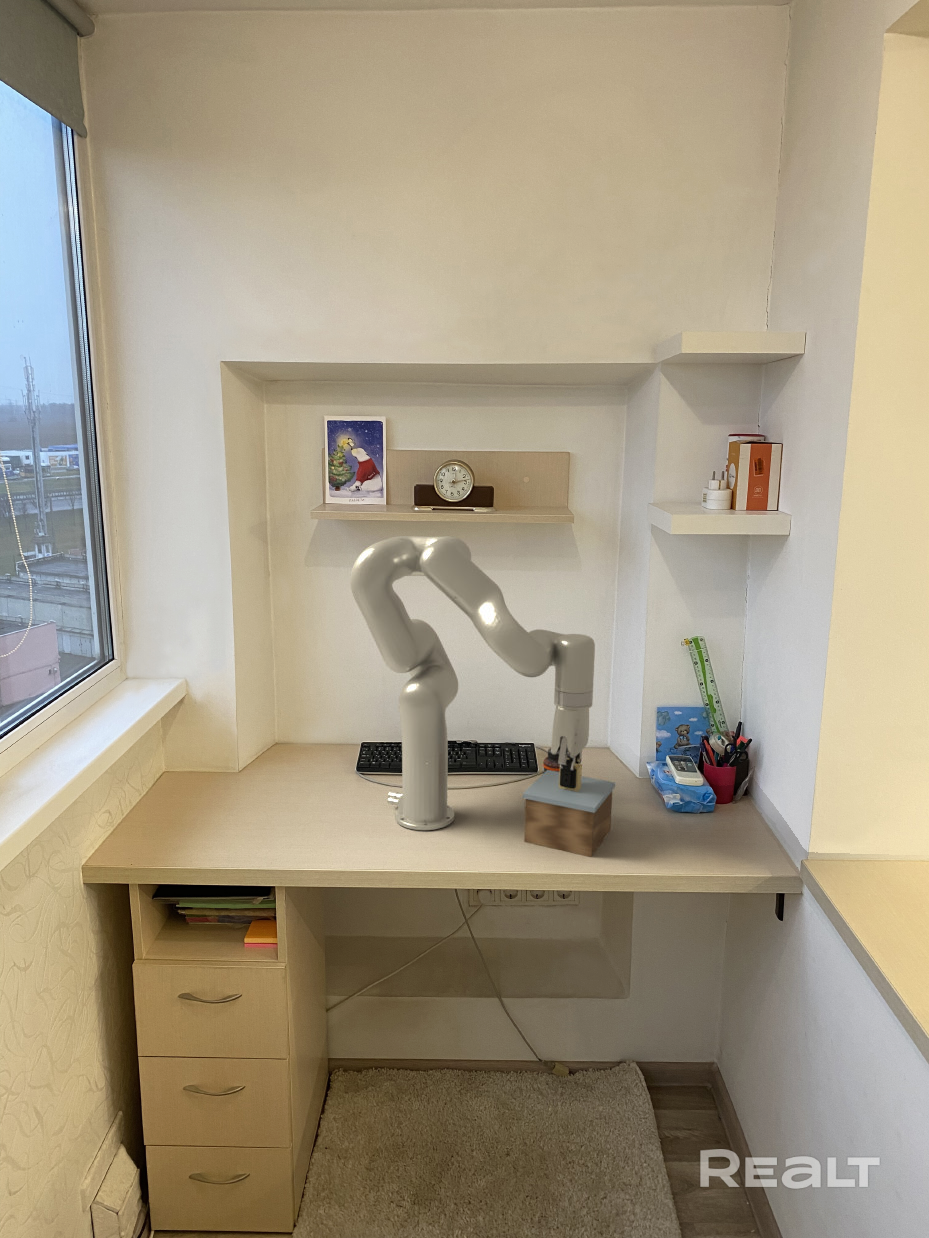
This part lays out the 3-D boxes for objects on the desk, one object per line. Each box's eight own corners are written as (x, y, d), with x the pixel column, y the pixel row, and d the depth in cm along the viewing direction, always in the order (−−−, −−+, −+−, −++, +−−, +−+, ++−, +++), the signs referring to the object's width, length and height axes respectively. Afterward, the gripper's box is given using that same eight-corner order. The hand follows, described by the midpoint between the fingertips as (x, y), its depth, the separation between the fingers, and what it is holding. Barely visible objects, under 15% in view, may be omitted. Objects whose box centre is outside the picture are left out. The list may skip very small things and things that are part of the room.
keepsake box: (524, 841, 173) (525, 797, 171) (547, 816, 185) (548, 775, 183) (591, 857, 167) (593, 811, 165) (610, 830, 179) (612, 787, 177)
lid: (522, 798, 171) (523, 769, 170) (547, 774, 183) (548, 747, 182) (594, 812, 165) (596, 783, 163) (615, 787, 177) (616, 759, 176)
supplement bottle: (537, 799, 194) (539, 751, 191) (547, 789, 199) (549, 743, 196) (562, 804, 191) (564, 756, 188) (572, 795, 196) (573, 748, 194)
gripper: (568, 684, 178) (565, 768, 182) (541, 705, 164) (538, 795, 168) (603, 689, 175) (599, 774, 179) (578, 711, 161) (575, 802, 165)
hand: (570, 783), depth 174 cm, fingers closed on lid
